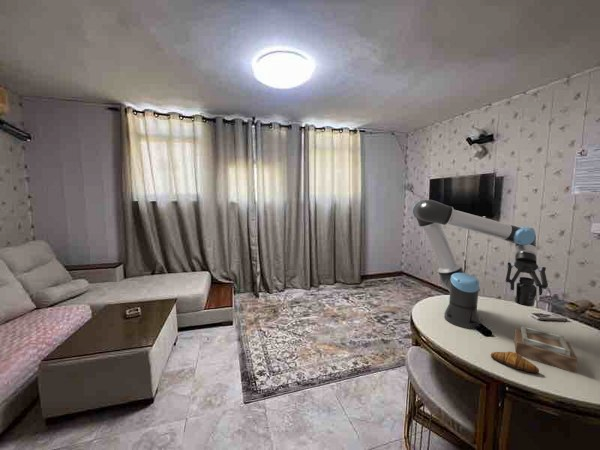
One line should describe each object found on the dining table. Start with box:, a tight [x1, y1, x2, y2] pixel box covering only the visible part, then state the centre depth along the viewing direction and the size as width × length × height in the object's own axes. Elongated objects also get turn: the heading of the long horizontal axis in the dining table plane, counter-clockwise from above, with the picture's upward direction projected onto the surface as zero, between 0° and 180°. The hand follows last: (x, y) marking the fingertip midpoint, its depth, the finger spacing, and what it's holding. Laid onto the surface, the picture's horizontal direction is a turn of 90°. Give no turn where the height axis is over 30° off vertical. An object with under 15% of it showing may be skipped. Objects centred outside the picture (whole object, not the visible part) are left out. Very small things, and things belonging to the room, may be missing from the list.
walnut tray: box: [513, 325, 579, 374], centre depth 96 cm, size 16×14×7 cm
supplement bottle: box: [513, 276, 536, 307], centre depth 111 cm, size 7×7×12 cm
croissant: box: [490, 351, 540, 374], centre depth 89 cm, size 14×7×5 cm, turn 48°
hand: (525, 298), depth 108 cm, fingers closed on supplement bottle, 7 cm apart
